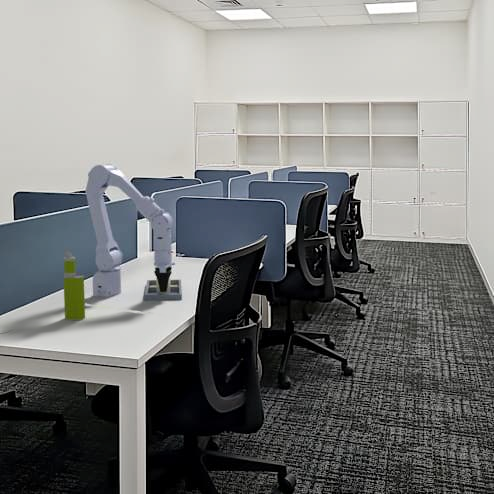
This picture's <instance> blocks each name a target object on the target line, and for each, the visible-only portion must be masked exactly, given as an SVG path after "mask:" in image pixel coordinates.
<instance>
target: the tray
mask: <svg viewBox="0 0 494 494" xmlns="http://www.w3.org/2000/svg"><path fill="white" fill-rule="evenodd" d="M170 293H171V294H157V285H156V279H147V281H146V286H145V292H144V301H173V300H176V301H178V300H179V301H181V300H183V291H182V279H170Z"/></svg>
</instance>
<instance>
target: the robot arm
mask: <svg viewBox="0 0 494 494" xmlns="http://www.w3.org/2000/svg"><path fill="white" fill-rule="evenodd" d="M87 176H88V180H87V183H86V187H85V196H86V199H87V205H88V208H89V212H90V217H91V221H92V224H93V230H94V233H95V234H94V235H95V237H96V241H97V245H96V246H95V247H96V248H95V254H96V255H95V265H96V266H97V268H98V271H97V272H96V273H94V275H93V276H92V294H91V295H90V296H91V297H95V296H96V297H102V298H103V297H104V298H109V297H111V296H117V295H121V293H122V277H121V276H122V274H121V273H122V271H121V264H122V262H123V260H124V255H123V252H122V251H121V250H120V248H119V245H118V243H117V241H116V240H115V239H114V237H113V232H112V228H111V223H110V219H109V216H108V211H107V207H106V201H105V199H104V193H105V192H106V190H107V189H108V188H109V187H110V186H111V187H115V188H118V189H119V190H120V191H122V192H123V193H124V194H125V195H126V196H127V197H128V198H129V199H131V200H132V201H133V203H135V208H136V210H137V211H138V213H140V214H141V216H143V217H144V218H145V219H146V220H147V221H148V223H149V222H150V227H151V229H152V230H153V246H154V247H153V248H154V249H153V254H154V257H153V260H154V261H153V266H154V269H155V270H154V275H155V277H156V278H157V280H158V284H159V289H160V292H167V287H168V281H169V277H170V278H171V275H172V269H173V268H172V266H175V265H176V262H174V261H173V260H172V255H173V253H172V251H173V250H172V227H173V225H174V218H173V217H172V215H171V213H169V212H167V211H166V212H165V209H164V208H161V207H160V206H159V205H158V204H157V203H156V202H155V198H154V197H150V196H148V195H147V196H143V194H142V193H141V192H140V191H139V190H138V189H137V188H136V187H135V186H134V184H133V183H132V182H130V180H129V179H128V178H127V176H125V174H124V173H123V172H122V171H121V170H120V169H118V168H117V166H116V165H114V164H112V163H108V164H96V165H94V166H93V167H92V168H91V169H90V171H89V172H88V173H87Z"/></svg>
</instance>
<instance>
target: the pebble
mask: <svg viewBox="0 0 494 494" xmlns="http://www.w3.org/2000/svg"><path fill="white" fill-rule="evenodd" d="M155 280H156V285H157V294H171V293H170V280H171V276H170V277H169V281H168V287H167V292H160V289H159V284H158V280H157V277H156V279H155Z"/></svg>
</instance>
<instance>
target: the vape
mask: <svg viewBox="0 0 494 494" xmlns="http://www.w3.org/2000/svg"><path fill="white" fill-rule="evenodd" d="M65 253H66V256H64V257H63V269H64V270H63V274H64V275H63V280H62V281H63V299H64V302H63V303H64V319H65V320H71V321H72V320H73V321H80V320H85V319H86V305H85V280H84V279H85V277H84V275H83V274H82V275H81V274H80V275H79V274H77V273H76V257H75V256H73V252H72V250H67V251H66V252H65Z"/></svg>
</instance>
